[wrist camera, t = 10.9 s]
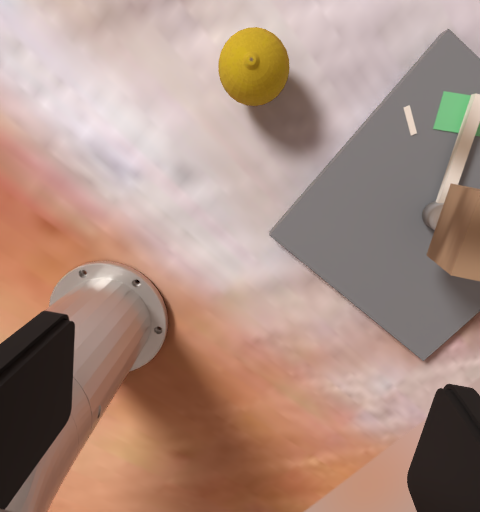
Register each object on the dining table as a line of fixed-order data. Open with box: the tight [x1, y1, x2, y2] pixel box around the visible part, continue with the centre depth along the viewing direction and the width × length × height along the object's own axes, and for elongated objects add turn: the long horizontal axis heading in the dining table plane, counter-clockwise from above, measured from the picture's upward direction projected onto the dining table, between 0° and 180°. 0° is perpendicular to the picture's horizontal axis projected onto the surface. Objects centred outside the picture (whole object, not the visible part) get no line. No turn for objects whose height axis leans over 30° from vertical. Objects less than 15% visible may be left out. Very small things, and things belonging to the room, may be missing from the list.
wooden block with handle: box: [422, 94, 480, 281], centre depth 32 cm, size 13×2×9 cm, turn 169°
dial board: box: [270, 29, 480, 361], centre depth 38 cm, size 22×20×2 cm
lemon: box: [219, 27, 289, 106], centre depth 32 cm, size 6×6×8 cm
